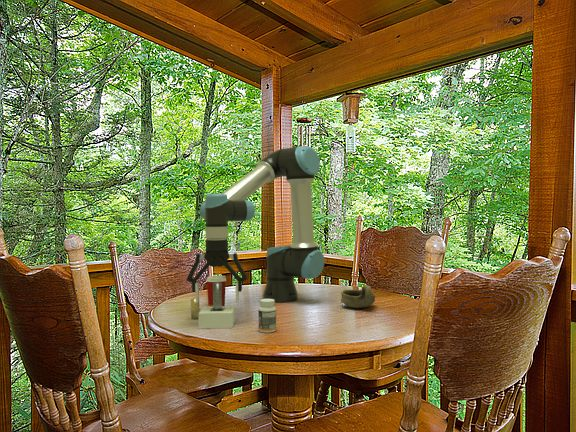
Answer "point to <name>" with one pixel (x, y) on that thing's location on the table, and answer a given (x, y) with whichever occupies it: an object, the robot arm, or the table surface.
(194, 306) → the short pin
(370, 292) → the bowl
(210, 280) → the paper cup
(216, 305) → the long pin
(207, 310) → the hole block
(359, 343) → the table surface
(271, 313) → the pill bottle
